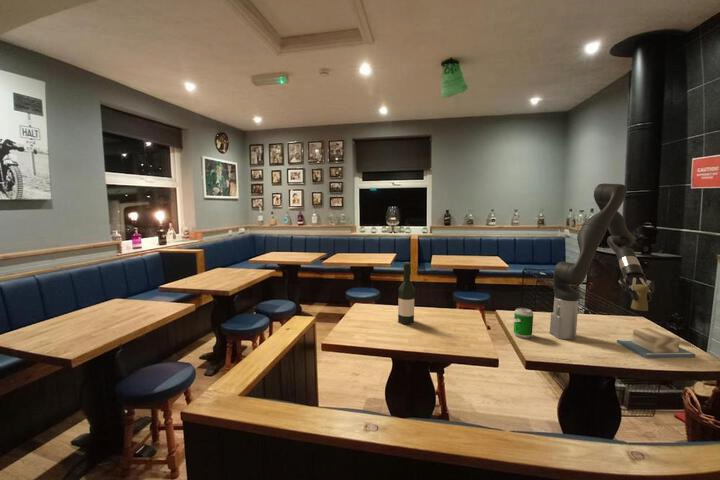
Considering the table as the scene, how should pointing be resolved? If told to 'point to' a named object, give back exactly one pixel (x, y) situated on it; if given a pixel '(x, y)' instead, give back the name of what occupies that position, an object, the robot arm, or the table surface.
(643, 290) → the cork
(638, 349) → the board
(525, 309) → the soda can
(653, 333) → the maple pedestal
